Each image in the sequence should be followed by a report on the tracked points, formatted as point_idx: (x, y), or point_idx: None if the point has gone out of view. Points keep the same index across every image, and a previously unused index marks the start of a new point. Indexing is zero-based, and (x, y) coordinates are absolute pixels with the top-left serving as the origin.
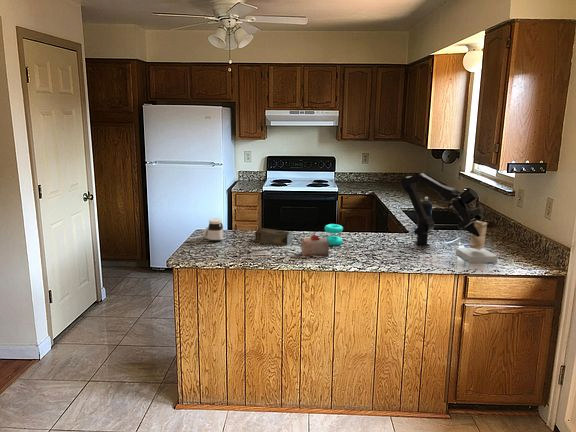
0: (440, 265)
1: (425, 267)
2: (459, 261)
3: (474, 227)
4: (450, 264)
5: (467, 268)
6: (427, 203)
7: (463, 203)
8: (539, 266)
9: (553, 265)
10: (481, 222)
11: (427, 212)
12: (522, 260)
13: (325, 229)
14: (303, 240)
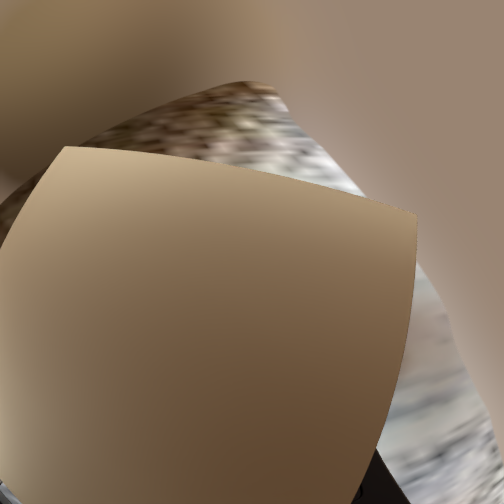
0: (468, 480)
1: (498, 498)
2: (378, 446)
3: (369, 492)
4: (444, 459)
5: (463, 372)
6: None
7: None
8: (238, 112)
9: (205, 91)
10: (53, 308)
11: None
12: (183, 156)
13: None
14: None
